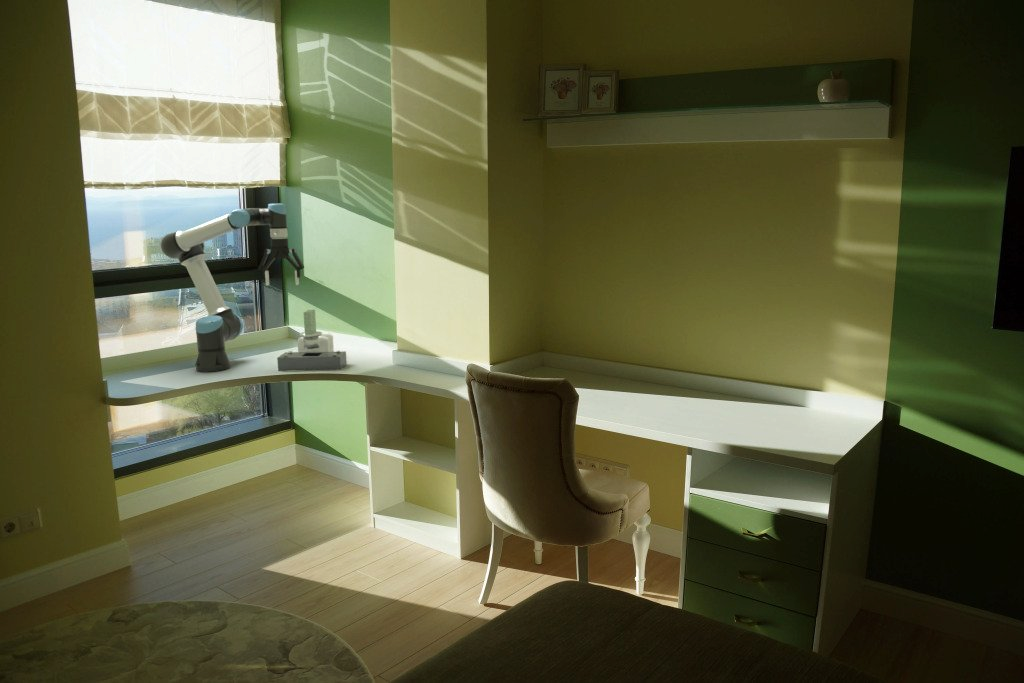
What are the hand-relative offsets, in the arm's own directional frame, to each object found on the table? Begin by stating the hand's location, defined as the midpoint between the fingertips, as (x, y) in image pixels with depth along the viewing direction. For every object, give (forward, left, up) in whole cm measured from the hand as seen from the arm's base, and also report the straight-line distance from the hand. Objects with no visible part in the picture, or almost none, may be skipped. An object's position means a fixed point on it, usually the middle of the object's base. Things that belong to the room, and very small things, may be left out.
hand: (282, 285), depth 378 cm
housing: (+14, -9, -37) cm, 40 cm away
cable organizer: (+11, +10, -37) cm, 40 cm away
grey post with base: (+14, -9, -28) cm, 33 cm away
